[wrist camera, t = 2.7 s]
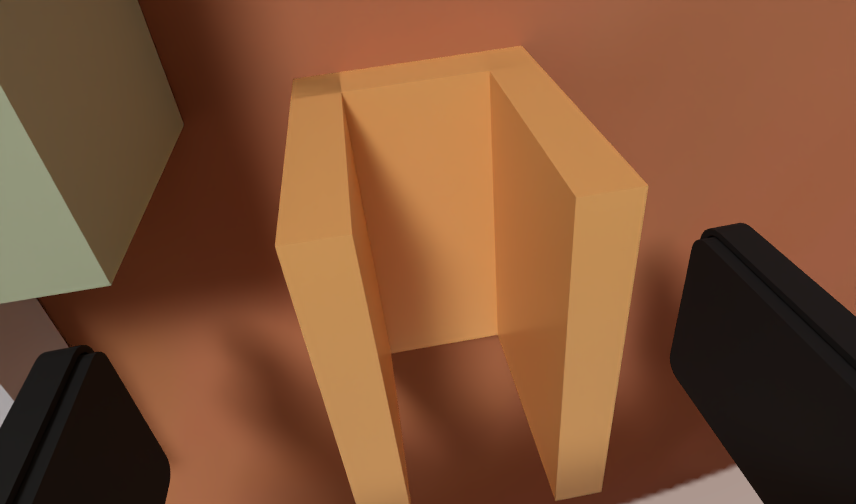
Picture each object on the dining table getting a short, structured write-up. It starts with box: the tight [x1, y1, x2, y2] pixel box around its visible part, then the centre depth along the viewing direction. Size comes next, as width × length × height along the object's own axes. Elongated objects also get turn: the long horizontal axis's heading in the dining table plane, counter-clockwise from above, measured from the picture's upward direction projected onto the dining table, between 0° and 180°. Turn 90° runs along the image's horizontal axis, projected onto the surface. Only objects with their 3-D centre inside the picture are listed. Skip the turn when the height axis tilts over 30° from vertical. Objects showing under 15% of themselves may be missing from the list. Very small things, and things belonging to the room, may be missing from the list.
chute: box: [275, 46, 648, 504], centre depth 10 cm, size 4×6×5 cm, turn 5°
